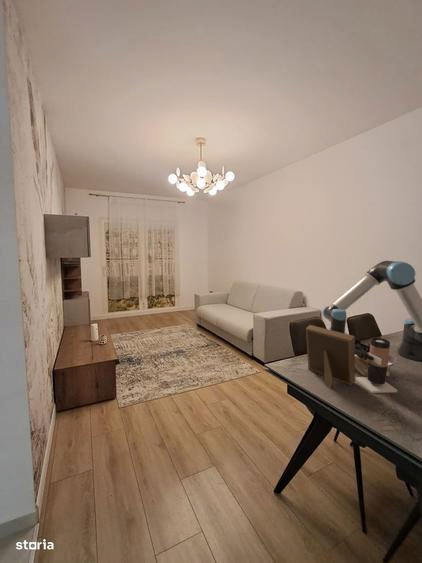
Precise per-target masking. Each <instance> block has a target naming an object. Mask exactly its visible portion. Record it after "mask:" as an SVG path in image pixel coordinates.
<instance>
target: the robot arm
mask: <svg viewBox="0 0 422 563" xmlns="http://www.w3.org/2000/svg"><path fill="white" fill-rule="evenodd" d="M415 277H416V270H415V268H414V267H413V266H412V265H411V264H410V263H408V262H405V261H399V260H398V261H394V260H384V261H383V260H382V261H381V262H379V263H377V264H376V265H374V266H373V267H372V268H370V269H369V270H368V271H366V272H365V273H364V277H362V278H361V279H360V280H359V281H358V282H357V283H356V284H353V286H352V287H351V288H349V289H348V290H347V291H346V292H345V293H343V294H342V296H340V297H339V298H338V299H337V300H336V301H334V302H333V303H331V305H328V306H324V307H323V309H322V311H321V313H322V316H323V317H324V318H325V319H326V320H328V321H329V322H330V327H329V328H327V329H328V330H332V331H336V332H340V333H344V334H348V333H346V324H347V323H346V322H347V311H346V310H348V308H350V307H351V306H352V305H353V304H355V303H356V302H357V301H358V300H359V299H361V298H362V297H363V296H364V295H365V294H367V293H368V292H369V291H370V290H372V288H374V287H375V286H379V285H380V284H381V283H383V282H386V283H388V286H389V288H390V289H391V290H393V291H395V292H396V294H397V295H398V297H399V299H400V300H401V302H402V304H403V306H404V308H405V309H406V311H407V312H408V315H409V316H410V318H406V319H405V320H404V324H403V332H402V341H401V343H400V345H399V347H398V348H397V354H398V355H399V356H400V357H403V358H405V359H409V360H412V361H418V362H419V361H420V362H422V297H421V295H420V293H419V292H418V291H419V290H418V289H417V287H416V286H415V282H416V279H415ZM348 335H350V334H348ZM370 344H371V343H368V344H365V343H362V341H361V340H360V339H359V338H357V337H355V356H358V357H360V358H363V357H364V360H367V358H368V359H369V360H371V361H373V362H375V363H377V364H379V365H381V362H382V359H380V358H378V357H376V356H374V355H372V354H370ZM388 362H391V363H393V364H396V363H397V357H396V356H393V355H392V354H389V358H388Z"/></svg>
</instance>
